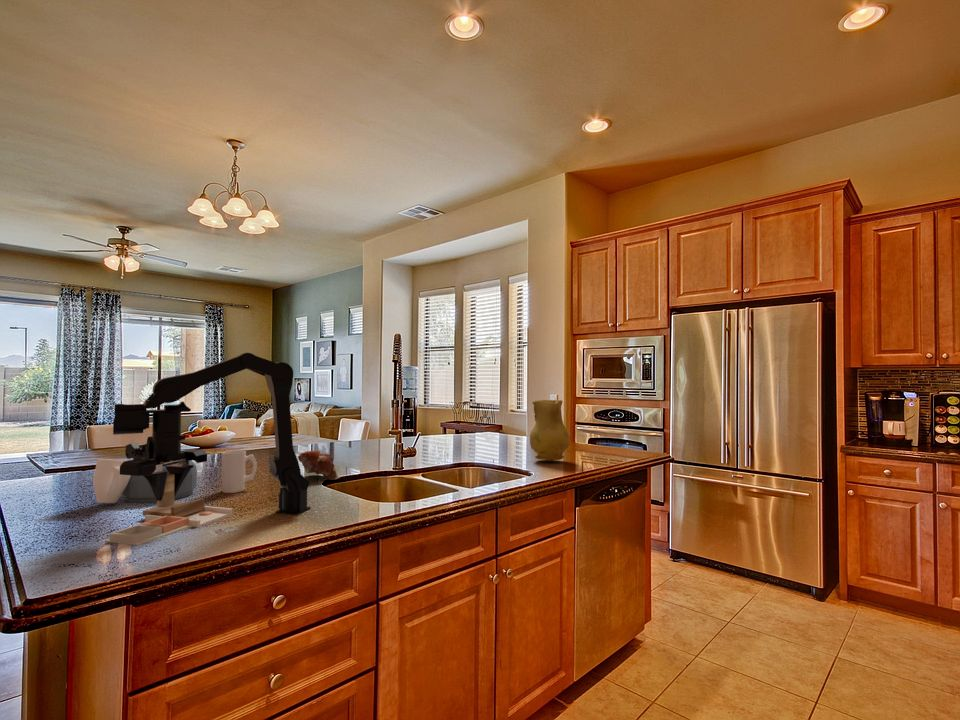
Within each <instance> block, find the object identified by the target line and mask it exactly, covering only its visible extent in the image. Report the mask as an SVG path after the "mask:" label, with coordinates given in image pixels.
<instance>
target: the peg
mask: <svg viewBox="0 0 960 720" xmlns="http://www.w3.org/2000/svg"><path fill="white" fill-rule="evenodd" d="M174 487H175V474H167V478H166V483H165V488H164V493H163V497H162V500H161V501H157V502H156V507H169V506H173V505H174V502H175V499H174Z"/></svg>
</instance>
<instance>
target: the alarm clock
mask: <svg viewBox="0 0 960 720" xmlns="http://www.w3.org/2000/svg"><path fill="white" fill-rule="evenodd" d="M151 460H152V459H151ZM161 463H162V462H161ZM189 465H194V467H193V468H191V469H190V471H189V473H188V474H187V476H186V477H185V479H184V481H183V482H182V484H181V486H180V488H179V490H178V492H177V494H176V496H175V497H174V500H178V499H182V498H186V497H189V496H191V495H192V494H193V493H194V489H196V488H197V486H198V468H197V465H196V464H195V461H194V460H191V461H189ZM167 466H169V465H167ZM163 471H166V472H168V471H167V469H166V467H165V466H163ZM167 474H169V472H168V473H167ZM121 496H122V497H124V500H125V501H126V502H129V503H130V502H131V503H157V500H156V498H155V496H154V493H153V491H152V488H151V486H150V484H149V482H148V480H147V479H146V478H145V477H144V476H143V475H142V476H132V475H131V477H130V480H129V482H128V484H127V486H126V488H125V489H124V491H123V493H122V494H121Z"/></svg>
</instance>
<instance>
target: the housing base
mask: <svg viewBox="0 0 960 720" xmlns="http://www.w3.org/2000/svg"><path fill="white" fill-rule="evenodd" d="M233 512H234V511H233V508H232V507H230V508H229V507H222V506H221V507H219V506H210V505H209V506H208V505H205V509H203V510H200V511H197V512H194V513H191V514H188V515H185V516H182V517H186V518H189V524H192V525H193V527H192V528H200V527H203V526H206V525H208V524H212V523H214V522H217V521H219V520H223V519H225V518H226V519H227V518H228V517H231V516H234V515H233ZM160 517H163V516H158V515H148V514H147V515H145V516H144V522H147V521H150V520H153V519H157V518H160Z"/></svg>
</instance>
